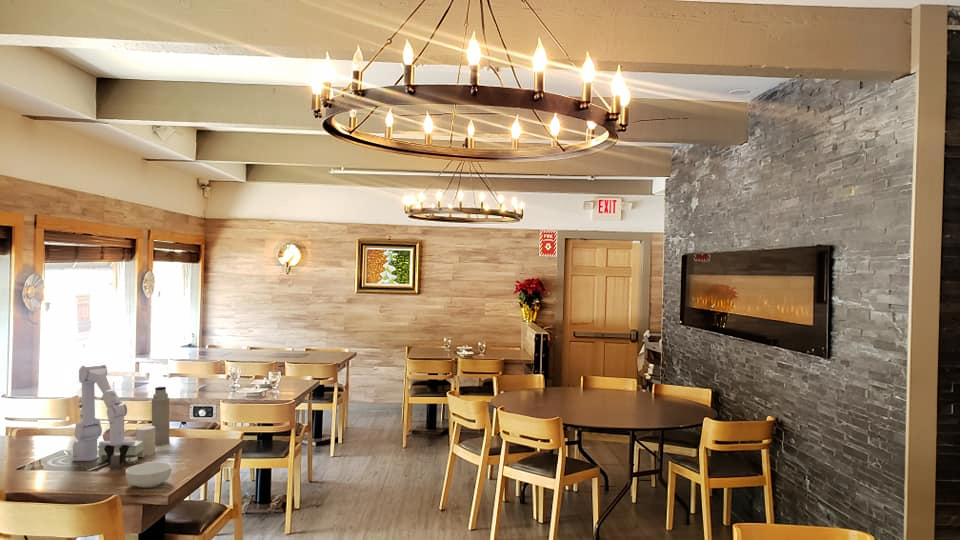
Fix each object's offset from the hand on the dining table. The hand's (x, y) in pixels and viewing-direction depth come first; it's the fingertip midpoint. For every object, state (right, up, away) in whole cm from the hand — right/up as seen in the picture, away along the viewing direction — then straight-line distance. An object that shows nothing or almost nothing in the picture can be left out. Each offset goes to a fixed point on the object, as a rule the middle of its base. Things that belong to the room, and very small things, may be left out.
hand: (116, 462), depth 310 cm
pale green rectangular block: (-4, -2, +12) cm, 13 cm away
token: (+2, -2, +9) cm, 9 cm away
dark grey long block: (-1, -2, +5) cm, 6 cm away
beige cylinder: (+1, -2, +24) cm, 24 cm away
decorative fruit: (-20, -2, +36) cm, 42 cm away
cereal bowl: (+25, -3, -24) cm, 35 cm away
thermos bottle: (0, -2, +42) cm, 42 cm away
